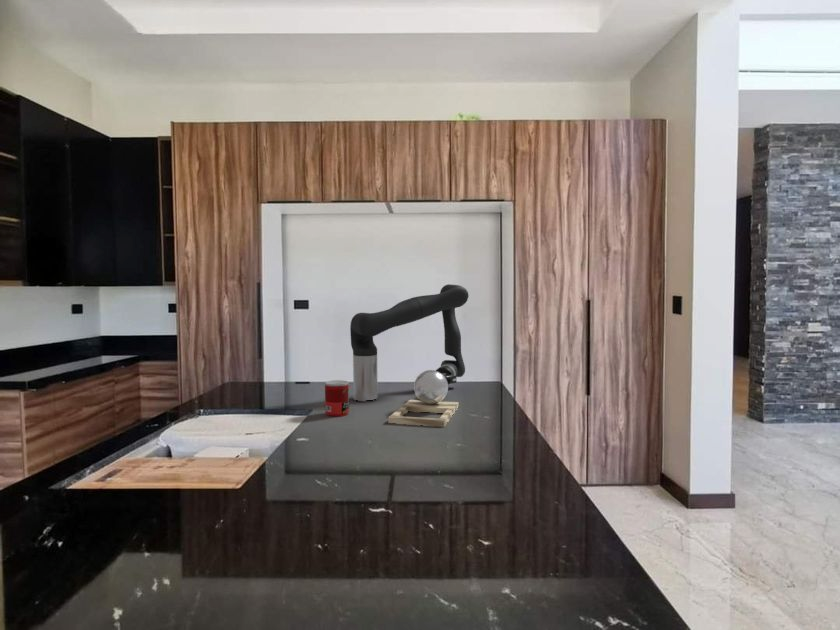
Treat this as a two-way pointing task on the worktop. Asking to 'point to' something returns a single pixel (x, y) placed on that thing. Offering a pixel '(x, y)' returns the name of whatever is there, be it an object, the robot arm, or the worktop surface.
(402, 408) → the hole board
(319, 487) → the worktop surface
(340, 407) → the canned food
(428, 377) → the ball
